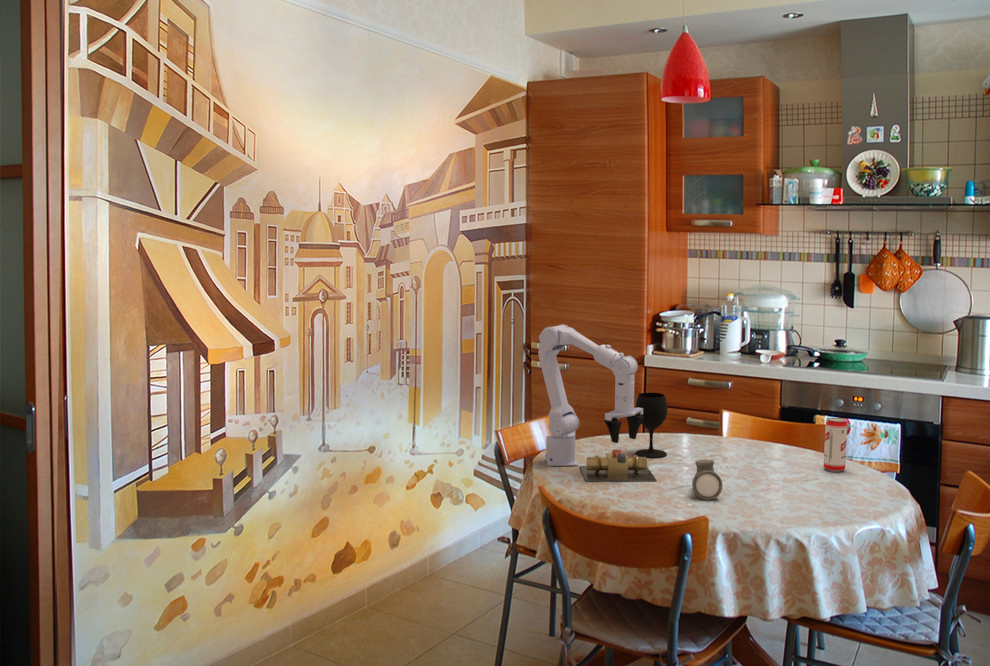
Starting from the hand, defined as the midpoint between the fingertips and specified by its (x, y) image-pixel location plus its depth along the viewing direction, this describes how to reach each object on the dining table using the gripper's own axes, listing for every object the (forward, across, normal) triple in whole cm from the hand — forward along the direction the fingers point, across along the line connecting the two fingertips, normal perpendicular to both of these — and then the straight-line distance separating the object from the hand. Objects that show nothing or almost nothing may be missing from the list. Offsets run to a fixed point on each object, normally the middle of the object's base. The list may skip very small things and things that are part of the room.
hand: (623, 440), depth 260 cm
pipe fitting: (+10, +4, -29) cm, 31 cm away
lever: (+4, -4, -2) cm, 7 cm away
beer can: (+10, +54, -37) cm, 67 cm away
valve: (+10, -2, +1) cm, 10 cm away
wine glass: (+10, +23, +10) cm, 28 cm away
